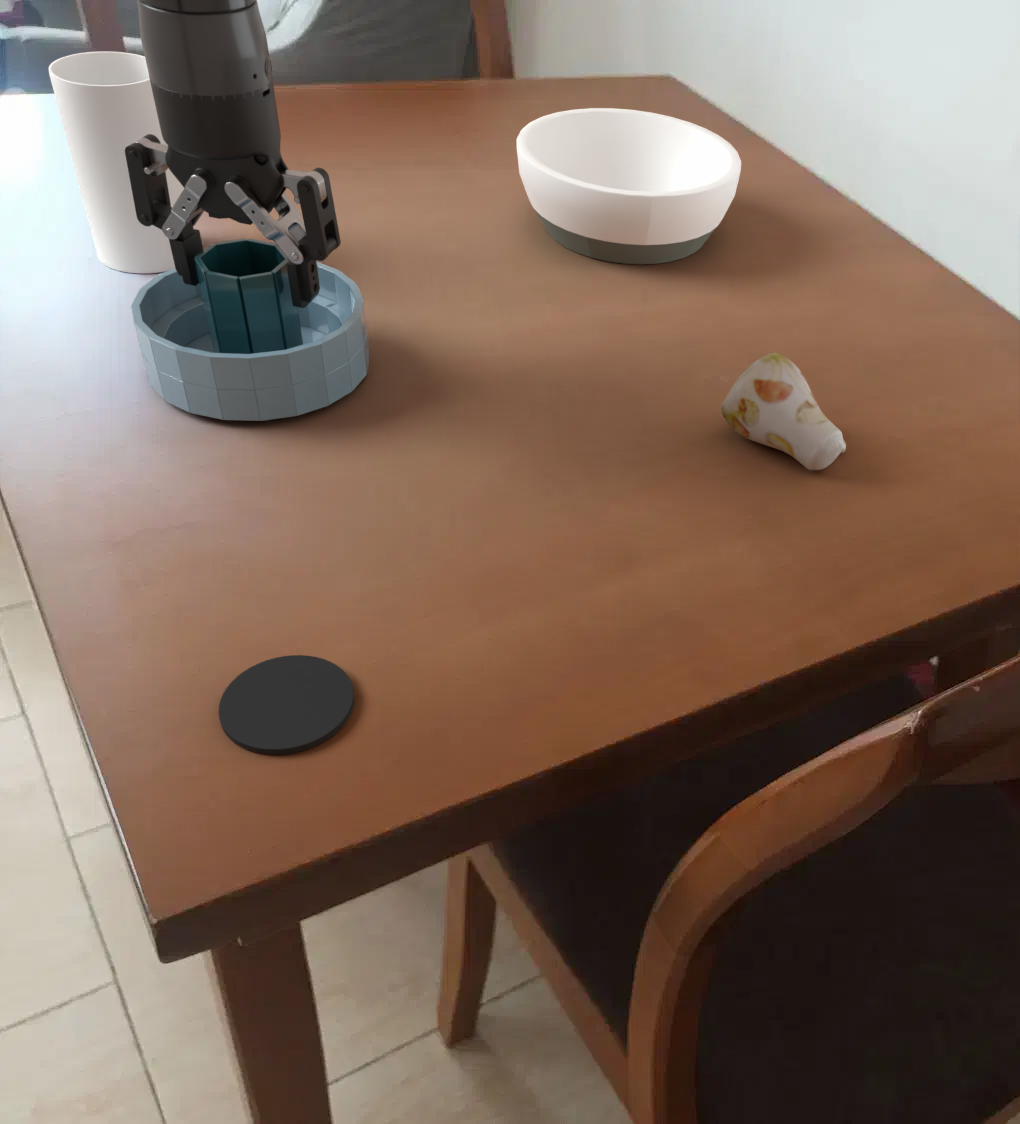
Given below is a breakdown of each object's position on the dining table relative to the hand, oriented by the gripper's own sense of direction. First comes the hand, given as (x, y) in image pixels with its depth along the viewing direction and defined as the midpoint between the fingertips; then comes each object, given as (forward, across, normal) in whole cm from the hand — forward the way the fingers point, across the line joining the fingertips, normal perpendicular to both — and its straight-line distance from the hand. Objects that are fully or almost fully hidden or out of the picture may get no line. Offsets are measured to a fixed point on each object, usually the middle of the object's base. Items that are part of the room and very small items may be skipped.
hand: (250, 292), depth 85 cm
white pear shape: (+7, +42, +4) cm, 43 cm away
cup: (+7, -18, +14) cm, 24 cm away
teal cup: (+6, 0, 0) cm, 6 cm away
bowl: (+7, +20, +38) cm, 44 cm away
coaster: (+7, +18, -32) cm, 37 cm away
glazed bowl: (+7, 0, 0) cm, 7 cm away
